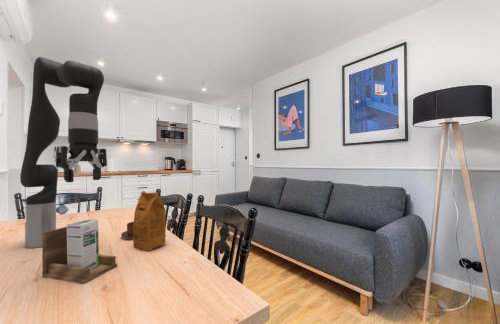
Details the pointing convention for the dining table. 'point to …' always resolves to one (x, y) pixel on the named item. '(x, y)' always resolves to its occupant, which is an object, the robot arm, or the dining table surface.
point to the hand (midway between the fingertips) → (83, 181)
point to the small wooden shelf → (57, 260)
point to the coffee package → (149, 222)
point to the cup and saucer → (128, 231)
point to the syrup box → (83, 244)
